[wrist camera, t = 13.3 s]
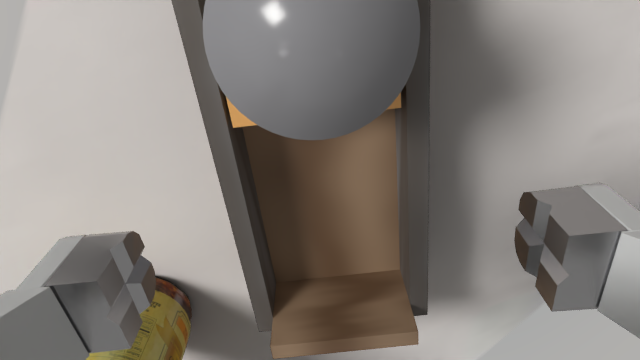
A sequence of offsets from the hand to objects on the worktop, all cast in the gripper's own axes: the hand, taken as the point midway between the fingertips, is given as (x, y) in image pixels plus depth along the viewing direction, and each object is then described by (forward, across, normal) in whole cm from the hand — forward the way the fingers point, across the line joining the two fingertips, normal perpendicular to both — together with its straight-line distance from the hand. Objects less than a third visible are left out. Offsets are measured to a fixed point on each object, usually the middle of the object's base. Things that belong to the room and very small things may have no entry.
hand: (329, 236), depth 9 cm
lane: (+14, 0, +4) cm, 15 cm away
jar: (+13, 0, -3) cm, 14 cm away
